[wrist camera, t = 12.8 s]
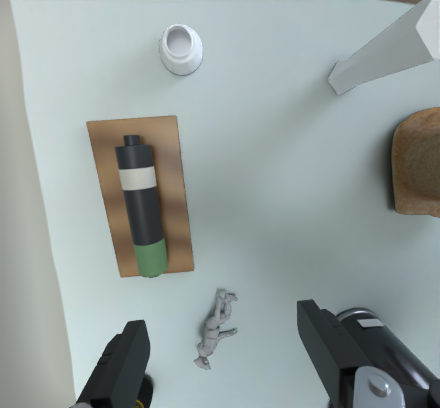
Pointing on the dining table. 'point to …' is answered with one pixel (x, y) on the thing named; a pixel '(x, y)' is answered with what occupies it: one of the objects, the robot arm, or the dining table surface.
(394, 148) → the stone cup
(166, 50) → the white jar
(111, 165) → the wooden board
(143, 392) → the tape measure
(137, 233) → the marker
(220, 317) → the soldier figure
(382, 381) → the robot arm
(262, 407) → the dining table surface
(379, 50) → the perfume bottle
